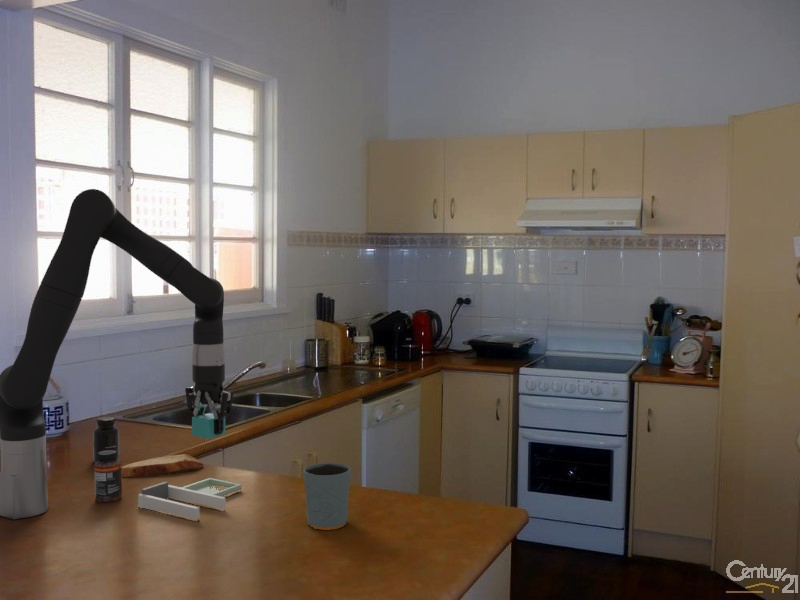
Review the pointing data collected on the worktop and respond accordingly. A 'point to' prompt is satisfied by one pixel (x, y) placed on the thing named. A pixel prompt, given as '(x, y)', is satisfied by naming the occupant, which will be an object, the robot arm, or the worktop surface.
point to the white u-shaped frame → (159, 493)
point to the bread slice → (161, 466)
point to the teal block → (205, 426)
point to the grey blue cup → (327, 494)
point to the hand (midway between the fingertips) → (209, 432)
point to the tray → (204, 487)
